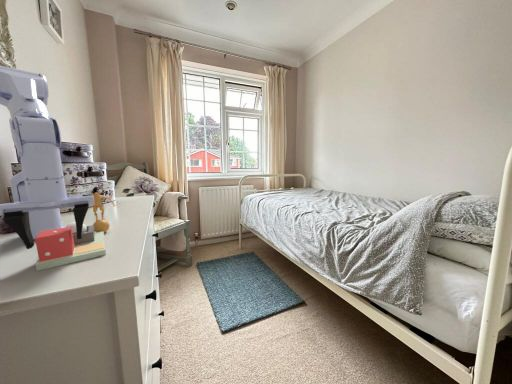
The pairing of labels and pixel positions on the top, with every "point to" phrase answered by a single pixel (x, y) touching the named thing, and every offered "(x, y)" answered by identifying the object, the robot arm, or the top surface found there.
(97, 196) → the figurine
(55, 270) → the top surface
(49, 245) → the die
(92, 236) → the housing
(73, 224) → the white ball
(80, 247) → the board
